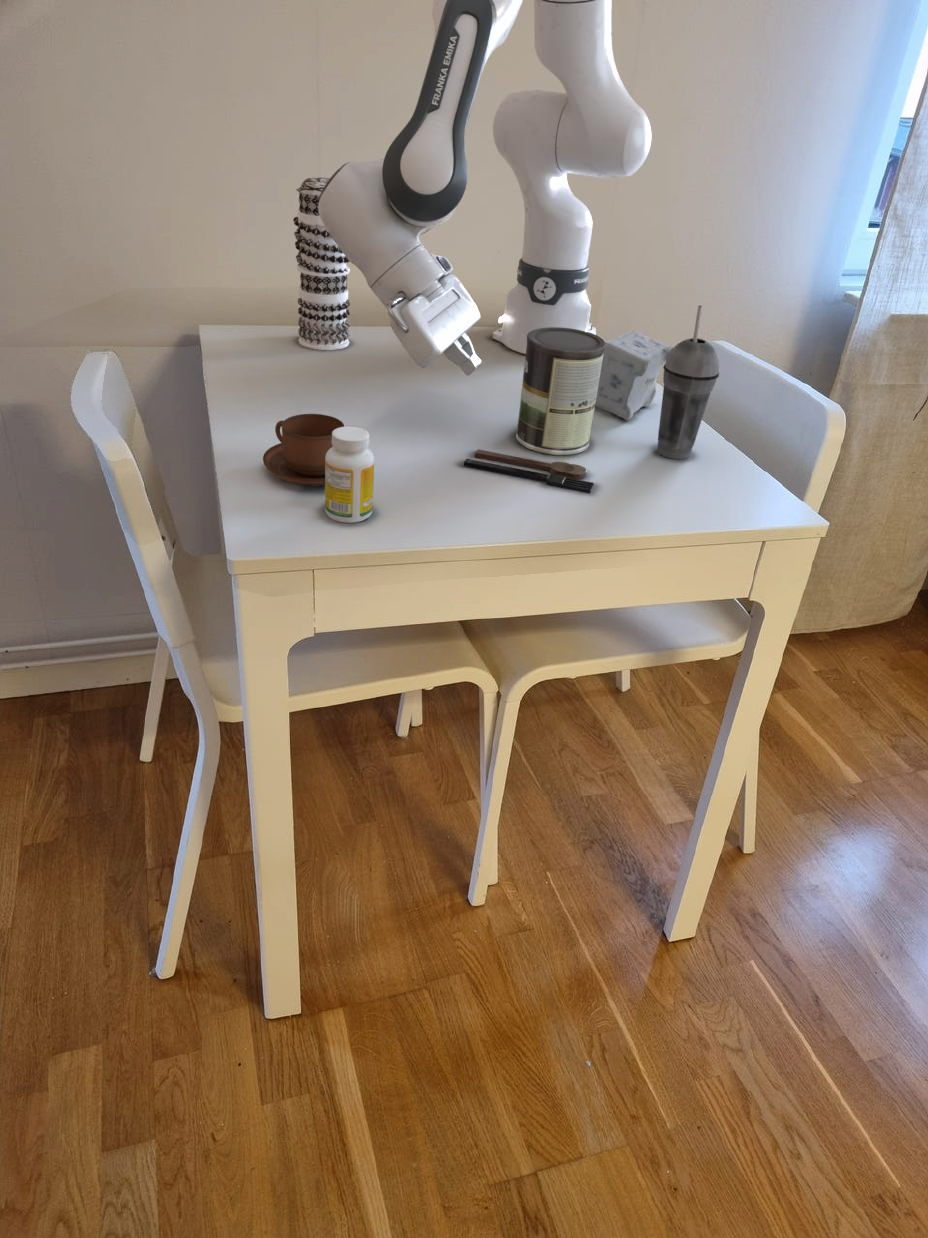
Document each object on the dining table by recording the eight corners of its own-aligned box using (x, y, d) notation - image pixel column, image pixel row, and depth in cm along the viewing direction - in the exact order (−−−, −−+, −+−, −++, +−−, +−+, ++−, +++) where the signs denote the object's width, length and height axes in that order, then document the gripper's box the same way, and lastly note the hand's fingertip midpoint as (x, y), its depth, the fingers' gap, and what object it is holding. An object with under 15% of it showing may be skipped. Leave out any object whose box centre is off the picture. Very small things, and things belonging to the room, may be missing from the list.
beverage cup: (710, 455, 128) (745, 307, 118) (681, 467, 124) (714, 315, 113) (666, 437, 132) (696, 293, 122) (636, 449, 128) (665, 301, 117)
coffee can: (504, 445, 126) (516, 340, 118) (529, 421, 134) (541, 322, 126) (577, 461, 123) (594, 356, 115) (598, 436, 131) (615, 336, 123)
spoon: (479, 450, 123) (479, 445, 123) (588, 471, 120) (588, 466, 120) (472, 459, 121) (473, 454, 120) (583, 481, 118) (584, 476, 118)
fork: (467, 460, 120) (467, 456, 120) (593, 485, 117) (594, 481, 117) (461, 467, 118) (462, 463, 118) (589, 493, 115) (590, 488, 115)
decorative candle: (339, 354, 152) (339, 187, 138) (287, 345, 154) (282, 180, 140) (359, 339, 160) (362, 180, 146) (309, 330, 161) (307, 172, 148)
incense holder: (634, 424, 136) (647, 353, 130) (584, 409, 140) (595, 340, 134) (662, 407, 143) (676, 339, 137) (614, 393, 147) (625, 326, 141)
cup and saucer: (246, 483, 110) (243, 433, 107) (288, 446, 120) (287, 400, 116) (341, 502, 108) (341, 452, 104) (376, 463, 118) (378, 416, 114)
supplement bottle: (332, 526, 103) (332, 444, 97) (319, 505, 107) (319, 425, 101) (379, 521, 105) (381, 440, 99) (364, 500, 109) (366, 422, 103)
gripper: (400, 287, 113) (470, 379, 116) (450, 255, 129) (511, 336, 133) (365, 318, 116) (434, 407, 120) (418, 283, 133) (478, 362, 136)
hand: (475, 369), depth 126 cm, fingers closed
